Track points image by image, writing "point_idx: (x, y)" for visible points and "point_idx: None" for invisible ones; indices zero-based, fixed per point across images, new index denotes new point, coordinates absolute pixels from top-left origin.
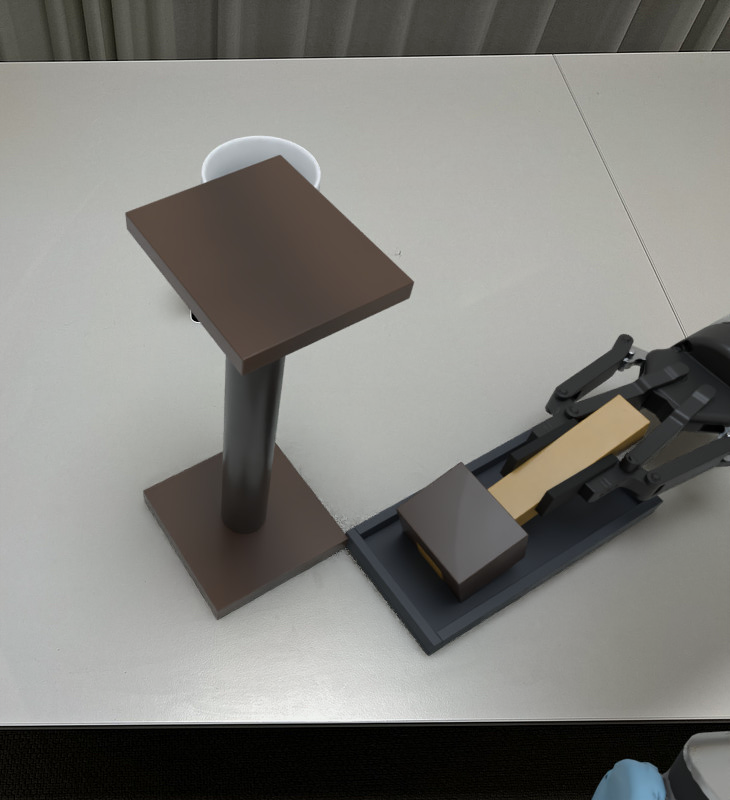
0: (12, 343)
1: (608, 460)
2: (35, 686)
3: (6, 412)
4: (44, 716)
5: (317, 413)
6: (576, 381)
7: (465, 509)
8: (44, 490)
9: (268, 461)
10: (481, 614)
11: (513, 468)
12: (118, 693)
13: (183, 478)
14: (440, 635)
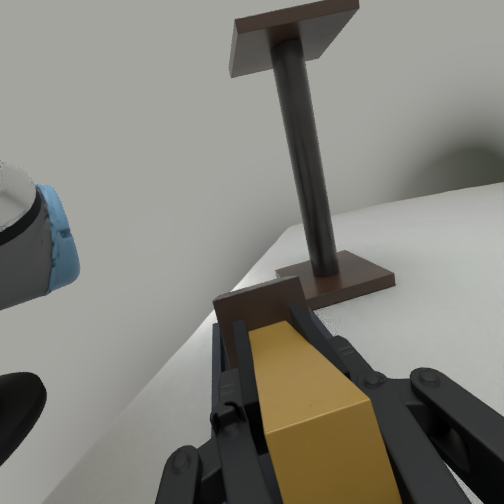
0: (450, 222)
1: (250, 390)
2: (272, 254)
3: (399, 230)
4: (262, 257)
5: (434, 306)
6: (477, 415)
7: (259, 285)
8: (354, 242)
9: (302, 207)
10: (213, 347)
11: (291, 320)
12: (261, 265)
13: (352, 256)
14: (216, 327)
